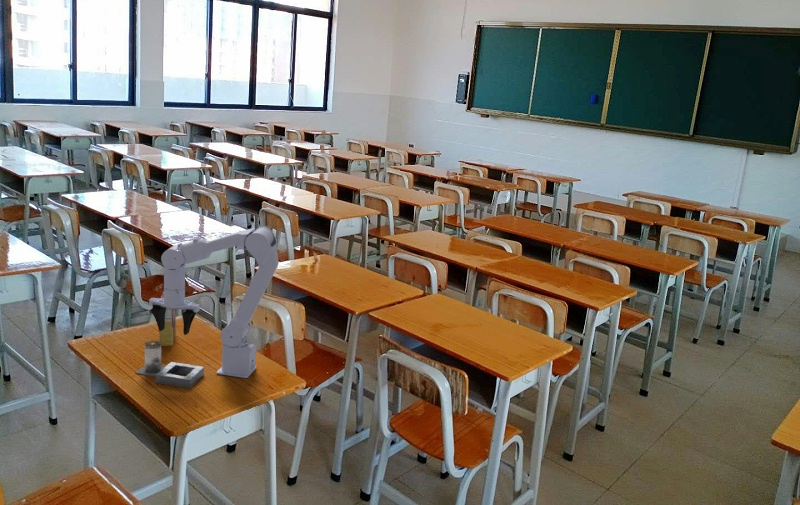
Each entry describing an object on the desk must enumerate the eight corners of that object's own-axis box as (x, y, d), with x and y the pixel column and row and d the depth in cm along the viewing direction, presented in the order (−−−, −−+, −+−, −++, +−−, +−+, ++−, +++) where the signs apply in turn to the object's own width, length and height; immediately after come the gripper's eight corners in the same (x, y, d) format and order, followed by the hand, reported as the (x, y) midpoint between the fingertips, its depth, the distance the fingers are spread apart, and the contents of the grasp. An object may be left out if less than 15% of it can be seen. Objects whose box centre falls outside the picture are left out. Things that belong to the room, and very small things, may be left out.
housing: (203, 374, 189) (204, 366, 189) (189, 388, 181) (190, 379, 180) (171, 369, 191) (171, 361, 190) (155, 382, 182) (155, 374, 181)
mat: (170, 367, 192) (170, 366, 192) (158, 377, 185) (158, 376, 185) (147, 363, 193) (147, 362, 193) (135, 373, 186) (135, 372, 186)
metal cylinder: (164, 368, 190) (164, 342, 189) (154, 373, 186) (154, 347, 184) (151, 365, 191) (151, 339, 190) (141, 370, 187) (141, 344, 186)
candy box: (162, 335, 214) (162, 291, 211) (176, 335, 215) (177, 291, 212) (158, 346, 206) (158, 300, 202) (172, 346, 207) (173, 300, 203)
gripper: (204, 286, 191) (203, 330, 195) (157, 280, 193) (157, 323, 196) (193, 293, 185) (192, 338, 188) (145, 287, 186) (145, 331, 189)
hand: (174, 331), depth 192 cm, fingers open, 7 cm apart
